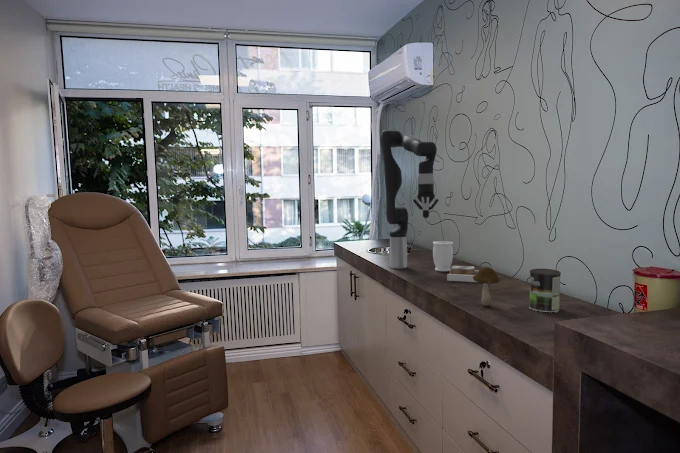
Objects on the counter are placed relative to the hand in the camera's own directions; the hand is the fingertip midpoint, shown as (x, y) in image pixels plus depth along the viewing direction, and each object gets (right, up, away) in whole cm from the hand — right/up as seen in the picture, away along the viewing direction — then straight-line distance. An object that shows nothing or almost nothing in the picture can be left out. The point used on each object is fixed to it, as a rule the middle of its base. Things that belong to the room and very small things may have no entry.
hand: (426, 218), depth 226 cm
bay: (+18, -29, -6) cm, 35 cm away
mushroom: (+13, -35, -52) cm, 64 cm away
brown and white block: (+17, -30, -4) cm, 34 cm away
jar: (+12, -28, +15) cm, 34 cm away
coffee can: (+33, -35, -58) cm, 75 cm away
